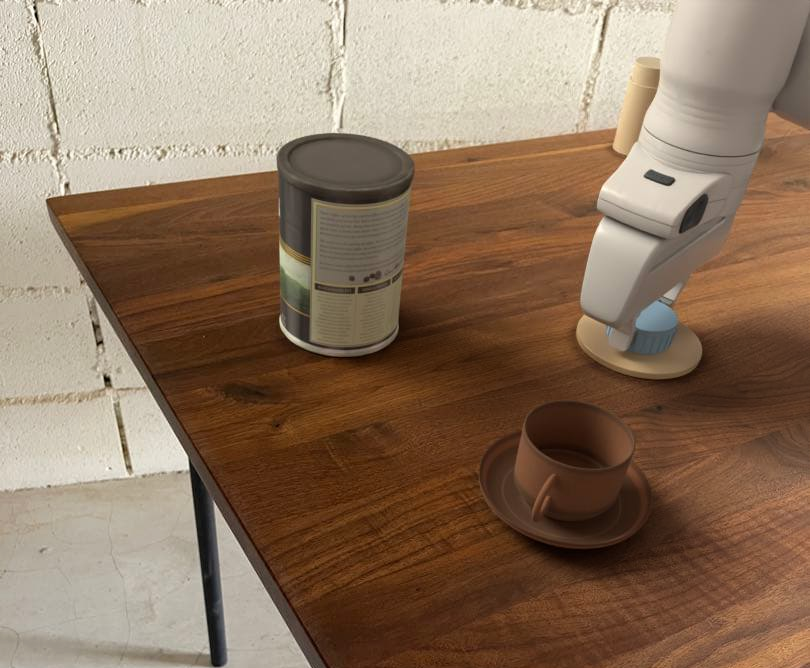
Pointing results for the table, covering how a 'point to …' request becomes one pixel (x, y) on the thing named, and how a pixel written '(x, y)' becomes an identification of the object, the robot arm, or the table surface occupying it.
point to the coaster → (652, 366)
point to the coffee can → (342, 241)
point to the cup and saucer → (568, 477)
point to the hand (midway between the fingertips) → (639, 330)
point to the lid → (653, 329)
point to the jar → (636, 102)
